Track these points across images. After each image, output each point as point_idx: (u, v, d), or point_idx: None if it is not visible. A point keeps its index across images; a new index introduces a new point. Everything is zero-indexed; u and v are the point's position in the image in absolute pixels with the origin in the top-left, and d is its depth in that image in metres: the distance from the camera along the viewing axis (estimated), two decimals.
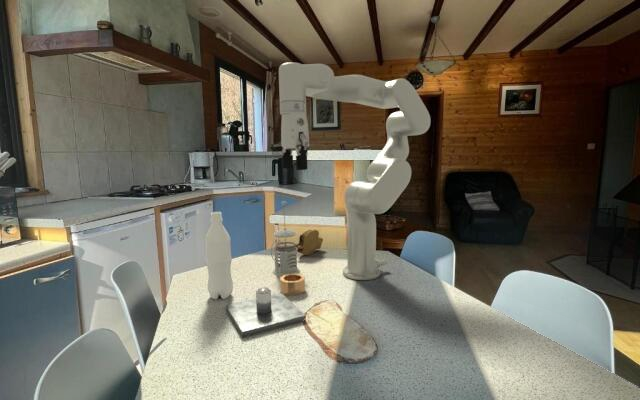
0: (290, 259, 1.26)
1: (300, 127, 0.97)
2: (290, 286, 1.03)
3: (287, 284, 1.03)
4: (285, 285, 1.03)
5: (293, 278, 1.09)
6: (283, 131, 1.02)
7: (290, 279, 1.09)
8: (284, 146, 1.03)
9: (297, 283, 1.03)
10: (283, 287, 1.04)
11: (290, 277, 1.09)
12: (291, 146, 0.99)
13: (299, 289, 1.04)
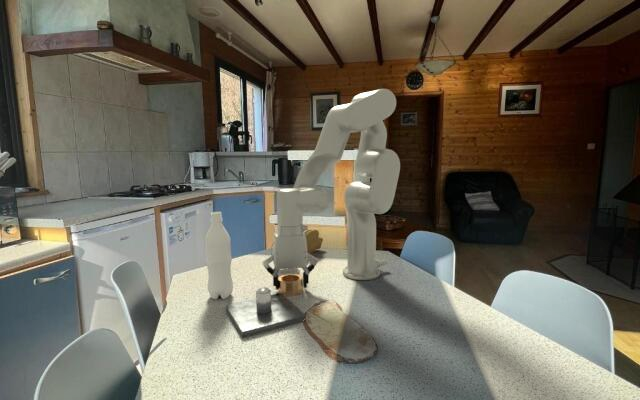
0: None
1: None
2: (288, 286, 1.03)
3: (285, 284, 1.03)
4: (283, 285, 1.03)
5: (291, 278, 1.09)
6: (284, 253, 1.02)
7: (288, 279, 1.09)
8: (283, 267, 1.03)
9: (295, 283, 1.03)
10: (281, 287, 1.04)
11: (288, 277, 1.09)
12: (300, 266, 1.04)
13: (297, 289, 1.03)
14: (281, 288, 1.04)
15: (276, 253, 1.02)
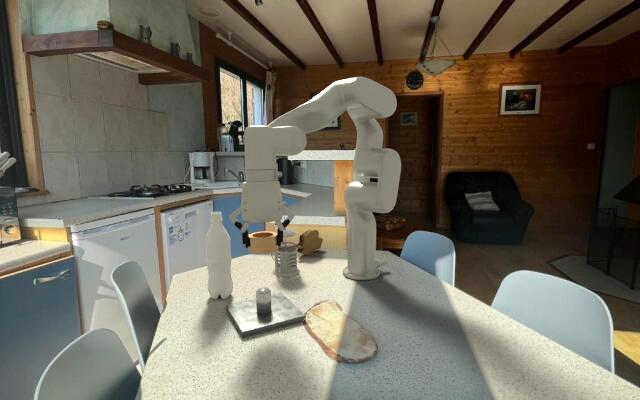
0: (290, 259, 1.26)
1: (281, 197, 0.88)
2: (259, 243, 0.86)
3: (256, 240, 0.86)
4: (253, 242, 0.86)
5: (264, 236, 0.92)
6: (254, 203, 0.85)
7: None
8: (253, 220, 0.86)
9: (268, 239, 0.86)
10: (251, 245, 0.87)
11: (261, 235, 0.92)
12: (273, 219, 0.87)
13: (270, 247, 0.87)
14: (251, 246, 0.87)
15: (244, 203, 0.85)
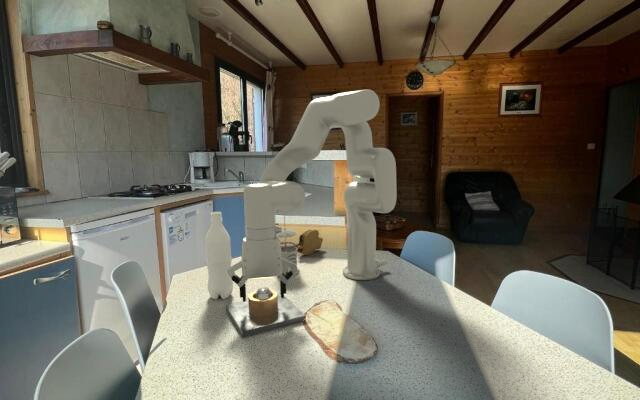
0: (290, 259, 1.26)
1: None
2: (259, 305, 0.87)
3: (256, 303, 0.87)
4: (253, 304, 0.88)
5: None
6: (254, 260, 0.86)
7: None
8: (253, 276, 0.87)
9: (268, 302, 0.87)
10: (251, 306, 0.88)
11: None
12: (273, 275, 0.88)
13: (270, 309, 0.88)
14: (251, 307, 0.88)
15: (244, 260, 0.86)
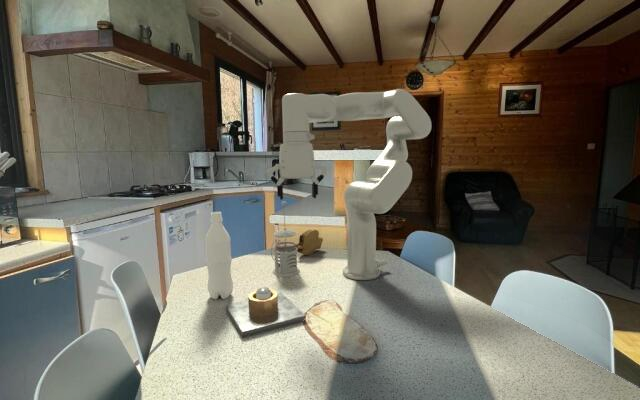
0: (290, 259, 1.26)
1: None
2: (259, 305, 0.87)
3: (256, 303, 0.87)
4: (253, 304, 0.88)
5: None
6: (291, 161, 0.98)
7: None
8: (290, 176, 0.99)
9: (268, 302, 0.87)
10: (251, 306, 0.88)
11: None
12: (307, 176, 1.00)
13: (270, 309, 0.88)
14: (251, 307, 0.88)
15: (282, 161, 0.98)
